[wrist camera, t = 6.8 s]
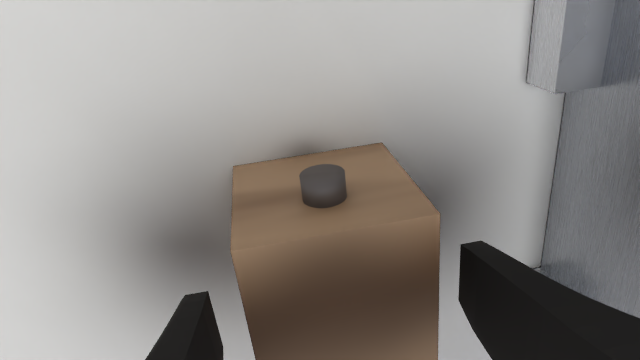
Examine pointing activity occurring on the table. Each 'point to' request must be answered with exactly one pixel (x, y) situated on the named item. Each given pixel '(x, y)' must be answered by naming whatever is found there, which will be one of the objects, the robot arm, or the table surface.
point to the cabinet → (336, 257)
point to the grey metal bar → (593, 145)
